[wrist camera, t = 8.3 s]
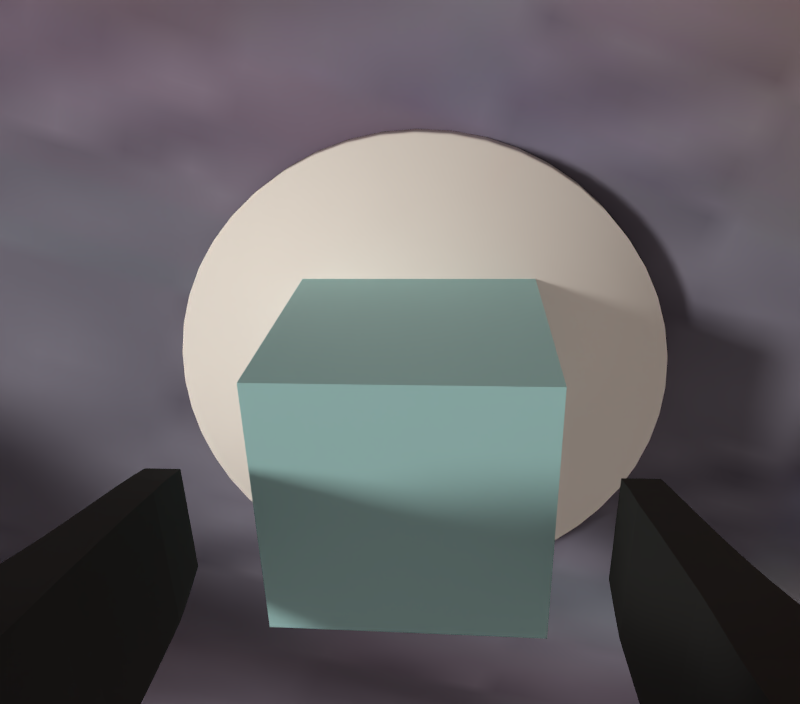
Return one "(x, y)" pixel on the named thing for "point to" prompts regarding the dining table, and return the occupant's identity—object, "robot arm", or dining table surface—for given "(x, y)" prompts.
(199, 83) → the dining table surface
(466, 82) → the dining table surface
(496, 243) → the white plate
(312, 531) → the teal cube
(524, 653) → the dining table surface
